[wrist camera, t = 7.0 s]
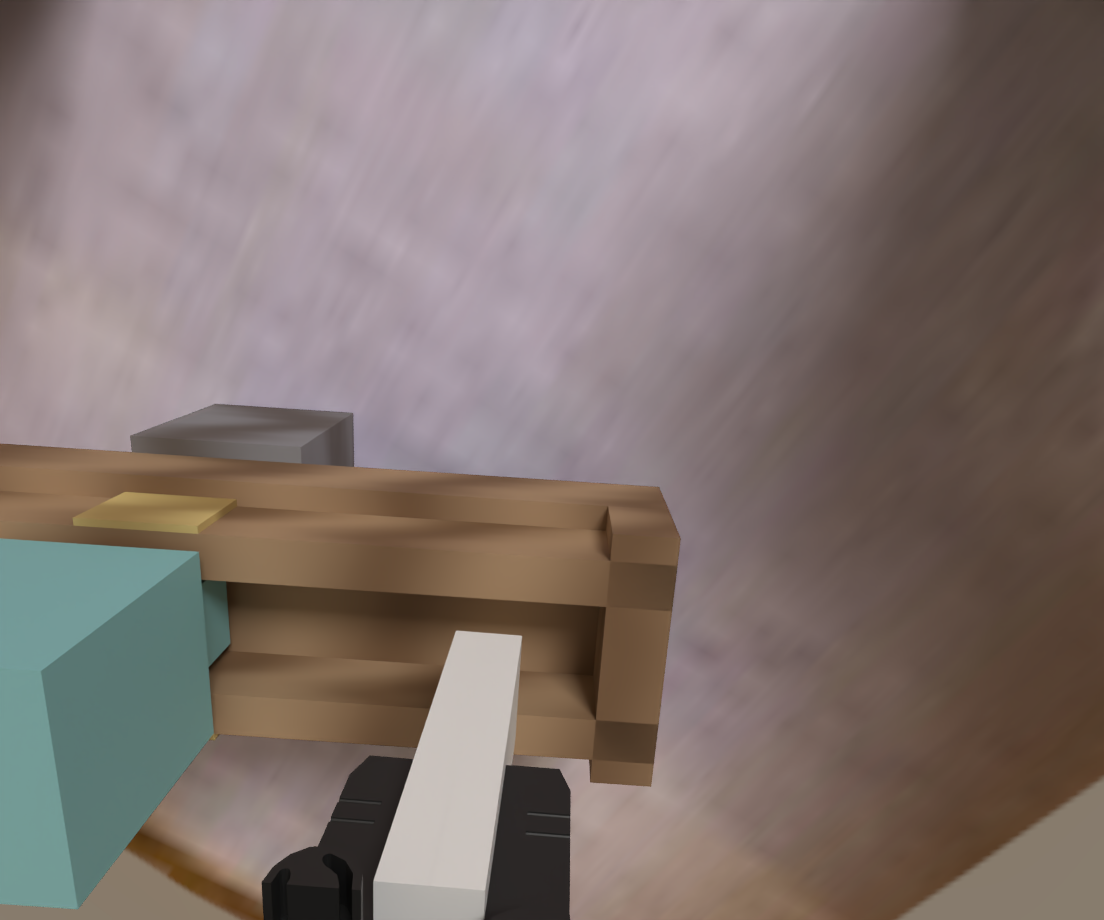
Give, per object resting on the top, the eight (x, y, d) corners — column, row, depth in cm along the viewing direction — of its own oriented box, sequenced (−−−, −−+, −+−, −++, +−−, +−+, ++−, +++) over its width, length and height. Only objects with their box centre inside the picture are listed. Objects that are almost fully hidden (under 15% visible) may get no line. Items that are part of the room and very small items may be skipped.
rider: (240, 520, 18) (40, 671, 11) (250, 685, 19) (78, 909, 13) (53, 508, 18) (-259, 650, 11) (76, 673, 19) (-191, 890, 13)
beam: (642, 432, 25) (719, 596, 12) (623, 630, 27) (670, 946, 14) (-72, 385, 25) (-725, 499, 12) (-35, 585, 27) (-561, 858, 14)
